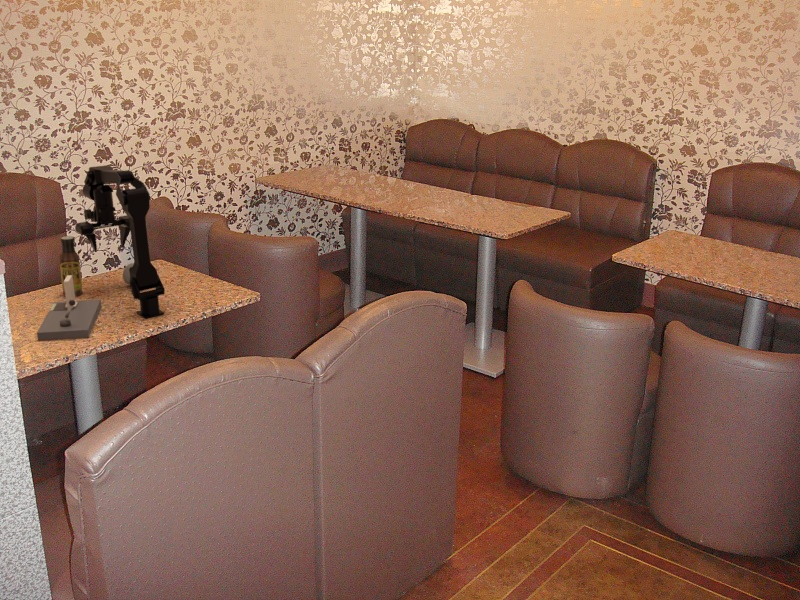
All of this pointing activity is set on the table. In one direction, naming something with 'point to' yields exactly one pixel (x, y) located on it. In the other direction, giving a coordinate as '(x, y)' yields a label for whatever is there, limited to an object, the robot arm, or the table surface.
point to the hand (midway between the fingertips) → (109, 249)
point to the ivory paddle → (69, 290)
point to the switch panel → (69, 321)
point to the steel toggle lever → (69, 308)
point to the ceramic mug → (127, 273)
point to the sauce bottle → (70, 264)
